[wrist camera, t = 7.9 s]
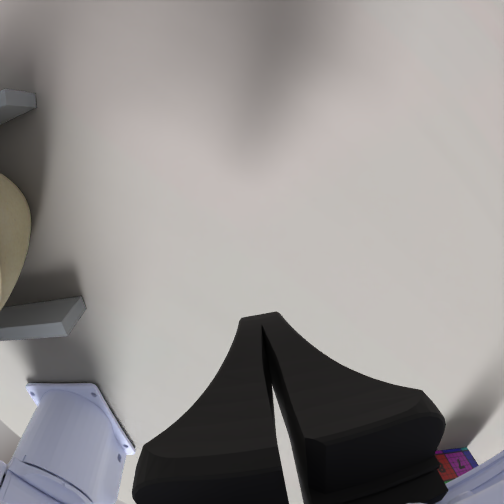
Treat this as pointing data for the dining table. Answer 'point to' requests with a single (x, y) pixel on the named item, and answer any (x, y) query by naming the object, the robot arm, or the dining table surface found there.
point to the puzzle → (454, 463)
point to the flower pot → (12, 235)
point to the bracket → (42, 313)
